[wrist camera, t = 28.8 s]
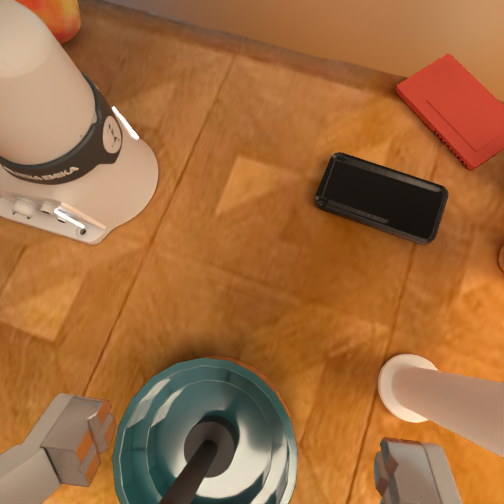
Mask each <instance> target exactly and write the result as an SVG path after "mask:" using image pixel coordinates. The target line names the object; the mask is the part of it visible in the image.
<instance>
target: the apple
mask: <svg viewBox="0 0 504 504" xmlns="http://www.w3.org/2000/svg"><path fill="white" fill-rule="evenodd" d="M15 1H17V2H19V3H20V4H22V5H24V6H25V7H27V8H28V9H29V10H31V11H32V12H33V13H35V14H36V15H37V16H38V17H39V18H40V19H41V20H42V21H43V22H44V23H45V24H46V26H47V27H48V28H49V30H50V31H51V32H52V34H53V35H54V37H55V38H56V39H57V41H58V42H59V43H60V44H63V43H66V42H68V41H69V40H71V39H72V38H73V37H74V36H75V35H76V34H77V32H78V31H79V29H80V27H81V18H80V12H79V5H78V2H77V0H15Z"/></svg>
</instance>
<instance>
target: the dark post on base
mask: <svg viewBox="0 0 504 504" xmlns="http://www.w3.org/2000/svg"><path fill="white" fill-rule="evenodd" d="M237 443H238V440H237V434H236V431H235V428H234V427H233V425H232V424H231V423H230V422H229V421H228V420H227V419H225V418H224V417H221V416H217V415H211V416H207V417H205V418H203V419H201V420H200V421H199V422H198V423H197V424H196V425H195V426H194V427H193V428H192V429H191V430H190V431H189V433H188V435H187V437H186V439H185V442H184V457H185V460H186V463H187V464H186V466H185V467H184V469H183V470H182V471H181V473H180V474H179V476H178V477H177V478H176V480H175V481H174V482H173V484H172V485H171V487H170V488H169V489H168V491H167V492H166V494H165V495H164V496H163V498H162V499H161V500H160V502H159V503H158V504H191V502H192V500H193V498H194V496H195V494H196V492H197V490H198V488H199V487H200V485H201V483H202V481H203V479H204V477H205V478H213V477H217V476H219V475H221V474H222V473H224V472H225V471H226V470H227V469H228V468H229V466H230V465H231V463H232V460H233V458H234V455H235V452H236V449H237Z"/></svg>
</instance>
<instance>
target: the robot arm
mask: <svg viewBox="0 0 504 504" xmlns="http://www.w3.org/2000/svg"><path fill="white" fill-rule="evenodd" d="M157 182H158V164H157V160H156V157H155V155H154V153H153V151H152V150H151V148H150V147H149V146H148V145H147V143H145V142H144V141H143V140H142V139H141V138H139V137H138V136H137V134H136V133H135V132H134V131H133V129H132V128H131V126H130V124H129V122H128V121H127V120H126V119H125V117H124V116H123V115H121V114H120V113H119V112H118V111H117V110H116V109H115V107H112V108H111V107H110V105H109V104H108V102H107V101H106V99H105V98H104V97H103V95H102V94H101V92H100V91H99V89H98V87H97V86H96V85H95V84H94V83H93V82H92V81H91V80H90V79H89V78H88V77H87V76H86V75H85V74H84V73H82V72H81V71H79V70H78V68H77V67H76V66H75V64H74V63H73V61H72V60H71V59H70V57H69V56H68V54H67V53H66V52H65V50H64V49H63V48H62V46H61V45H60V43H59V42H58V41H57V39H56V38H55V37H54V35H53V34H52V32H51V31H50V30H49V28H48V27H47V26H46V24H45V23H44V22H43V21H42V20H41V19H40V18H39V17H38V16H37V15H36V14H35V13H33V12H32V11H31V10H29V9H28V8H27V7H25V6H24V5H22V4H20V3H19V2H17V1H15V0H0V216H1V217H3V218H5V219H8V220H11V221H14V222H17V223H21V224H24V225H27V226H30V227H34V228H37V229H40V230H43V231H47V232H50V233H53V234H56V235H60V236H63V237H66V238H69V239H72V240H76V241H79V242H82V243H85V244H89V245H96V244H98V243H100V242H101V241H102V240H103V239H104V238H105V237H106V236H107V235H108V234H109V233H110V232H111V231H112V230H113V229H114V228H116V227H117V226H119V225H121V224H123V223H125V222H127V221H129V220H131V219H132V218H134V217H135V216H136V215H138V214H139V213H140V212H141V211H142V210H143V209H144V208H145V207H146V205H147V204H148V203H149V201H150V200H151V198H152V196H153V194H154V192H155V189H156V186H157ZM1 197H2V198H1ZM85 230H86V234H85V235H83V232H84V231H85ZM110 409H111V404H110V401H109V400H105V399H98V398H91V397H83V396H78V395H71V394H63V393H60V394H58V395H57V396H56V397H55V398H54V399H53V400H52V402H51V403H50V405H49V406H48V407H47V409H46V410H45V412H44V413H43V414H42V416H41V417H40V419H39V420H38V422H37V423H36V424H35V426H34V427H33V429H32V430H31V431H30V433H29V434H28V436H27V437H26V439H25V440H24V441H23V443H22V444H21V445H20V444H16V445H14V446H13V447H11V448H10V449H8V450H7V451H5V452H4V453H2V454H1V455H0V504H42V503H43V502H44V501H45V500H46V499H47V498H48V497H49V496H50V495H51V494H52V493H54V492H55V491H56V490H57V489H58V488H59V487H60V486H61V484H69V485H77V486H84V487H89V486H90V484H91V482H92V480H93V478H94V476H95V474H96V472H97V470H98V468H99V466H100V464H101V462H100V456H99V455H100V454H101V453H103V452H104V451H105V450H106V449H108V447H109V445H110V443H111V441H112V438H113V435H114V431H115V418H114V415H112V414H111V413H110V412H109V411H110ZM380 446H381V451H379V452H377V453H376V456H375V460H374V480H375V486H376V489H377V491H378V492H379V493H380V495H381V496H382V500H381V502H380V504H462V501H461V498H460V495H459V492H458V489H457V486H456V484H455V481H454V478H453V475H452V472H451V469H450V466H449V464H448V461H447V458H446V455H445V452H444V450H443V448H442V447H441V446H440V445H438V444H433V443H425V442H419V441H412V440H403V439H395V438H386V437H384V438H383V439H382V441H381V443H380ZM60 483H61V484H60Z"/></svg>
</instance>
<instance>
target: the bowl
mask: <svg viewBox="0 0 504 504" xmlns="http://www.w3.org/2000/svg"><path fill="white" fill-rule="evenodd" d="M211 415H217V416H221V417H224V418H225V419H227V420H228V421H229V422H230V423H231V424H232V425H233V427H234V428H235V431H236V434H237V440H238V443H237V449H236V452H235V455H234V458H233V460H232V463H231V465H230V466H229V468H228V469H227V470H226V471H225V472H224V473H222V474H221V475H219V476H217V477H213V478H205V477H204V479H203V481H202V483H201V485H200V487H199V488H198V490H197V492H196V494H195V496H194V498H193V500H192V502H191V504H289V502H290V499H291V496H292V494H293V491H294V489H295V485H296V473H297V459H298V450H297V445H296V440H295V435H294V431H293V426H292V421H291V417H290V412H289V409H288V407H287V406H286V404H285V402H284V400H283V398H282V397H281V395H280V393H279V391H278V389H277V387H276V386H275V385H274V384H273V383H272V382H271V381H270V380H269V379H267V378H266V377H265V376H264V375H263V374H262V373H261V372H260V371H259V370H258V369H256V368H254V367H252V366H250V365H248V364H246V363H244V362H242V361H240V360H238V359H235V358H228V357H220V356H207V357H202V358H198V359H193V360H188V361H184V362H179V363H175V364H174V365H172V366H170V367H169V368H167V369H165V370H163V371H162V372H160V373H158V374H156V375H155V376H153V377H152V378H151V379H150V380H149V381H148V382H147V383H146V384H145V385H144V386H143V387H142V388H141V389H140V390H139V392H138V393H137V394H136V395H135V396H134V397H133V398H132V400H131V401H130V403H129V405H128V407H127V409H126V411H125V414H124V416H123V418H122V420H121V422H120V424H119V426H118V430H117V435H116V441H115V446H114V451H113V458H112V461H113V472H114V483H115V490H116V494H117V496H118V499H119V501H120V504H158V503H159V502H160V500H161V499H162V498H163V496H164V495H165V494H166V492H167V491H168V489H169V488H170V487H171V485H172V484H173V482H174V481H175V480H176V478H177V477H178V476H179V474H180V473H181V471H182V470H183V469H184V467H185V466H186V464H187V463H186V460H185V457H184V442H185V439H186V437H187V435H188V433H189V431H190V430H191V429H192V428H193V427H194V426H195V425H196V424H197V423H198V422H199V421H200V420H201V419H203V418H205V417H207V416H211Z"/></svg>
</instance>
